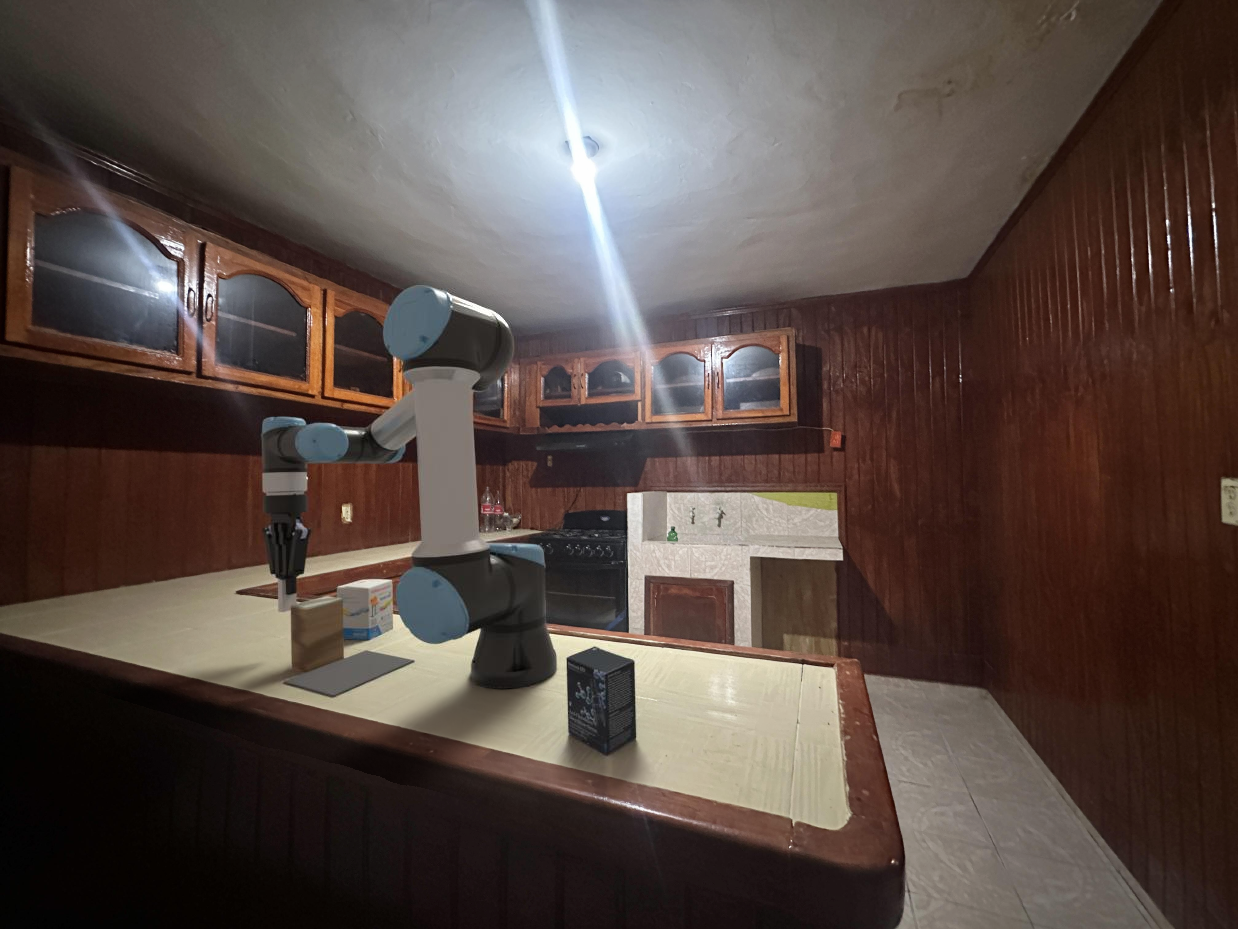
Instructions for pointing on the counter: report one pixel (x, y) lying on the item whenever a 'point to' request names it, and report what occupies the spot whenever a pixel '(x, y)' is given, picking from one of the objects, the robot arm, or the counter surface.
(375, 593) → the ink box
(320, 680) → the mat
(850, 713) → the counter surface
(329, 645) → the block
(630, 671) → the box
